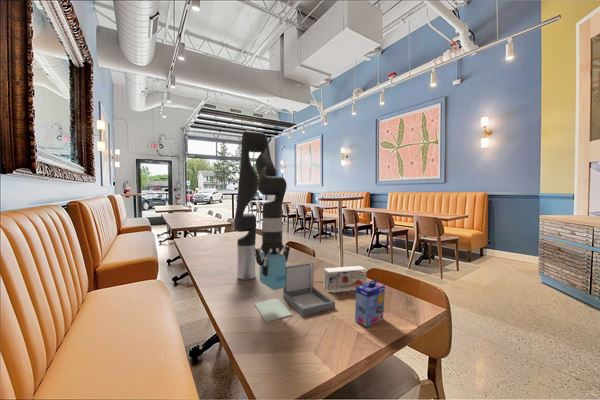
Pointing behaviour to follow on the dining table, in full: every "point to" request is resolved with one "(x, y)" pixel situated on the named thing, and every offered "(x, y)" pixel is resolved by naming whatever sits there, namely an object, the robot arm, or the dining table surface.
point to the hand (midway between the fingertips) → (272, 274)
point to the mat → (272, 309)
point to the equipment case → (304, 291)
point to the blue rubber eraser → (274, 271)
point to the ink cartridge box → (369, 303)
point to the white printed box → (343, 278)
